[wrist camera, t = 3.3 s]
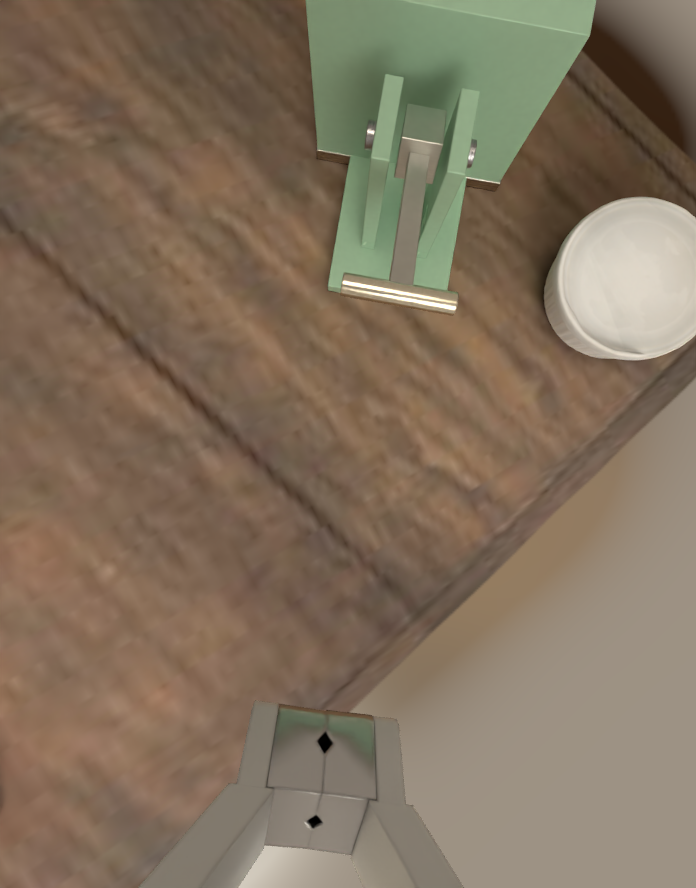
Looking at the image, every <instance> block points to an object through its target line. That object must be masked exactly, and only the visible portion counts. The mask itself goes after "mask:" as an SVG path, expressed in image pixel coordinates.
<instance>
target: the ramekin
mask: <svg viewBox="0 0 696 888" xmlns="http://www.w3.org/2000/svg"><path fill="white" fill-rule="evenodd" d="M544 306H545V309H546V314H547V316H548V320H549V322H550V323H551V326H552V328H553V329H554V331H555V332H556V334H557V335H558V336H559V337H560V338H561V339H562V341H564V342H565V343H566V344H567V345H568V346H570V347H572V348H574V349H575V350H576V351H579V352H581V353H583V354H586V355H588V356H591V357H597V358H607V359H621V360H643V359H650V358H654V357H658V356H661V355H664V354H666V353H669V352H671V351H673V350H675V349H677V348H679V347H681V346H682V345H684V344H685V343H687V342H688V341H689V340H690V339H692V338H693V337H694V336H695V335H696V218H695V217H694V216H693V215H691V214H690V213H689V212H688V211H687V210H685V209H684V208H682V207H680V206H678V205H676V204H673V203H670V202H667V201H664V200H661V199H657V198H651V197H630V198H624V199H619V200H616V201H613V202H610V203H608V204H606V205H603V206H601V207H600V208H598V209H596V210H594V211H593V212H591V213H590V214H589V215H587V216H586V217H584V218H583V219H582V220H581V221H580V222H579V223H578V224H577V225H576V226H575V227H574V228H573V229H572V230H571V232H570V233H569V234H568V236H567V237H566V239H565V240H564V242H563V243H562V245H561V247H560V250H559V252H558V254H557V257H556V259H555V260H554V262H553V264H552V267H551V268H550V270H549V273H548V277H547V279H546V285H545V287H544Z"/></svg>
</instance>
